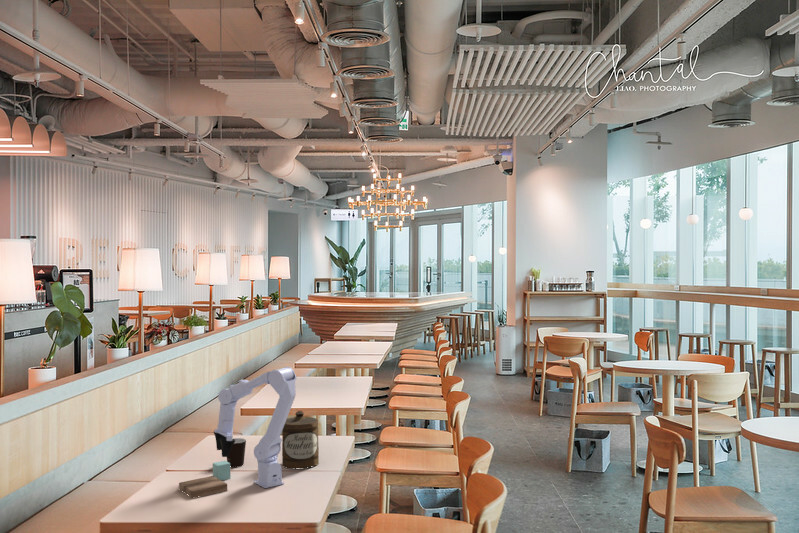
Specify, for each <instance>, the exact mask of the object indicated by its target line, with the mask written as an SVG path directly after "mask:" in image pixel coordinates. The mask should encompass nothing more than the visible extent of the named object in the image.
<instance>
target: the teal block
mask: <svg viewBox="0 0 799 533" xmlns="http://www.w3.org/2000/svg"><path fill="white" fill-rule="evenodd" d="M212 476H214V477H216V478H218V479H220V480H223V481H227V480H230V479H231V467H230V463H229V462H227V460H220V461H216V462H212Z"/></svg>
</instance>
